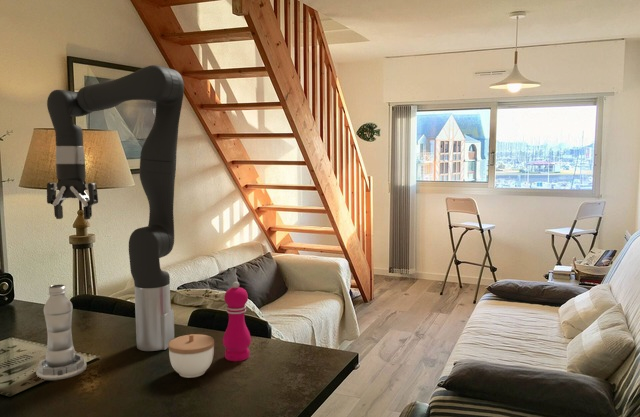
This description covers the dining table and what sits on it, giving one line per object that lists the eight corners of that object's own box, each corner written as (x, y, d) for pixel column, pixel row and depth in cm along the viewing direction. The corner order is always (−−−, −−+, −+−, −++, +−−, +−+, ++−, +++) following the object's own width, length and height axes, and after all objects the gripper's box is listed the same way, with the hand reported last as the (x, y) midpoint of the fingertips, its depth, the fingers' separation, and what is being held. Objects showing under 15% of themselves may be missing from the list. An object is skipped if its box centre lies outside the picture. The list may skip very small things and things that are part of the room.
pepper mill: (248, 362, 134) (247, 285, 132) (220, 362, 134) (218, 285, 132) (253, 351, 141) (252, 278, 139) (226, 351, 141) (224, 278, 139)
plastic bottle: (46, 374, 124) (41, 291, 122) (46, 364, 130) (41, 284, 128) (76, 369, 127) (72, 287, 125) (75, 359, 133) (71, 281, 131)
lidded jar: (198, 384, 121) (197, 345, 120) (159, 378, 125) (158, 339, 124) (223, 367, 131) (222, 330, 130) (186, 361, 135) (185, 325, 134)
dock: (95, 362, 134) (94, 353, 133) (69, 381, 123) (68, 371, 123) (55, 360, 135) (54, 351, 135) (25, 378, 124) (25, 368, 124)
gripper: (38, 162, 147) (42, 220, 149) (86, 162, 145) (89, 221, 147) (55, 162, 154) (58, 217, 156) (101, 162, 153) (103, 217, 154)
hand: (73, 219), depth 151 cm, fingers open, 8 cm apart
